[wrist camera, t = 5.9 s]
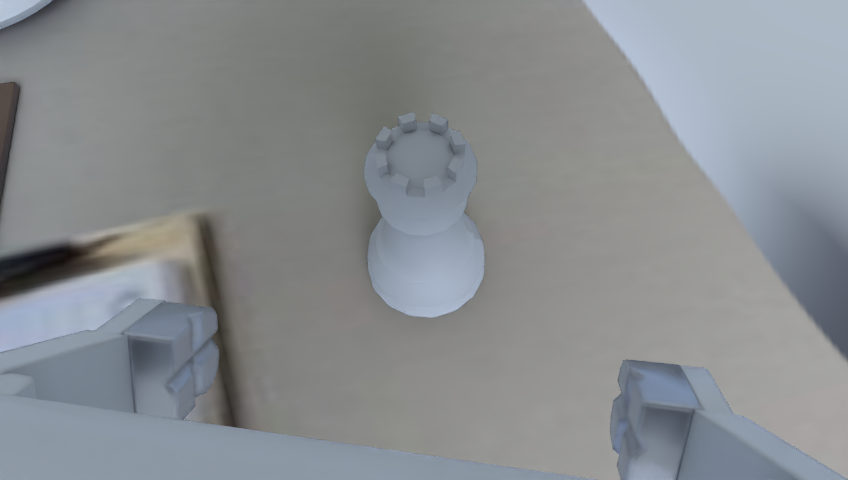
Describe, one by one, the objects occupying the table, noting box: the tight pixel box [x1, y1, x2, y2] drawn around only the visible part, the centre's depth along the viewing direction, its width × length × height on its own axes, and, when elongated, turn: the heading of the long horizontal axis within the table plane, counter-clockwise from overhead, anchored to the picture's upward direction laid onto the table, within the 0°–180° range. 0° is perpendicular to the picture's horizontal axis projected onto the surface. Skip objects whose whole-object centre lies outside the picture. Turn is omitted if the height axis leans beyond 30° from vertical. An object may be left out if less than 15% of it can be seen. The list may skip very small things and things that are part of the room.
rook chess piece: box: [363, 112, 485, 318], centre depth 21 cm, size 4×4×8 cm
